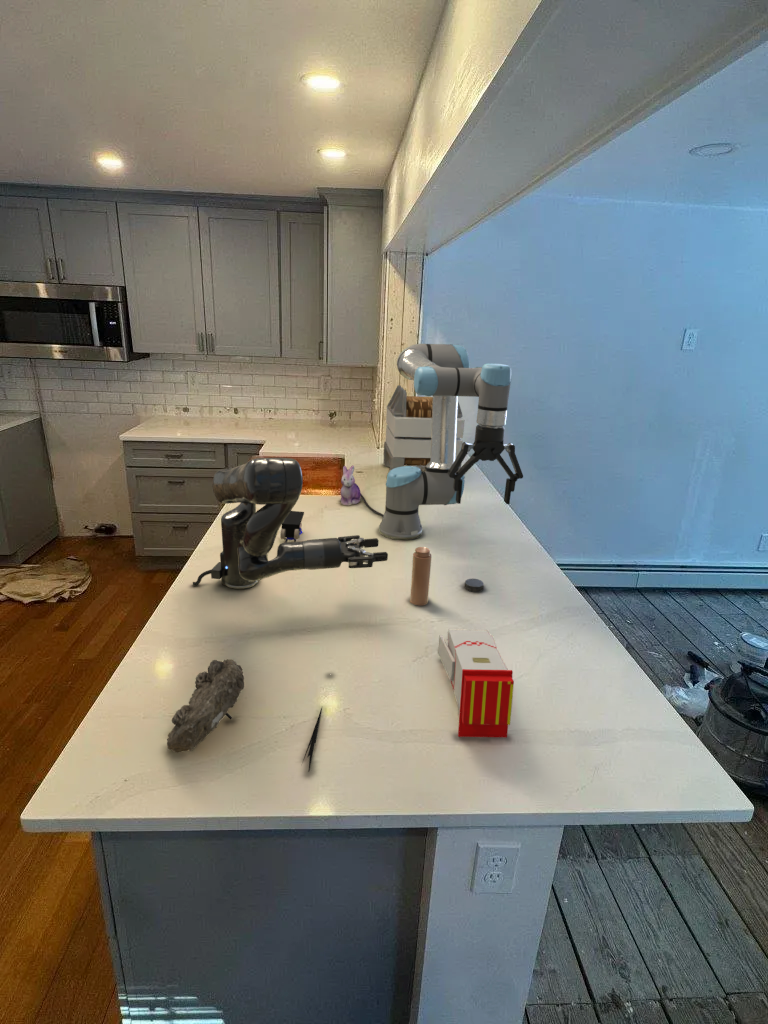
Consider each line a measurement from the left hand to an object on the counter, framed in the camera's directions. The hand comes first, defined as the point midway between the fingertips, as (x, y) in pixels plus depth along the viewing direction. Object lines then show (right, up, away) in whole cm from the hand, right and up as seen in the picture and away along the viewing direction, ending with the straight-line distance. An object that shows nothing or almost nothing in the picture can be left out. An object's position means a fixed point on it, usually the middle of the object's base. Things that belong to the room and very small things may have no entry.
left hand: (382, 549), depth 146 cm
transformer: (+18, +28, +129) cm, 133 cm away
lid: (+26, -11, +17) cm, 33 cm away
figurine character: (-31, +1, +46) cm, 55 cm away
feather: (-12, -30, -37) cm, 50 cm away
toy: (+18, -28, -27) cm, 43 cm away
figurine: (-13, +13, +84) cm, 86 cm away
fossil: (-32, -30, -38) cm, 58 cm away
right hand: (+27, +12, +9) cm, 31 cm away
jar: (+10, -15, +8) cm, 20 cm away
